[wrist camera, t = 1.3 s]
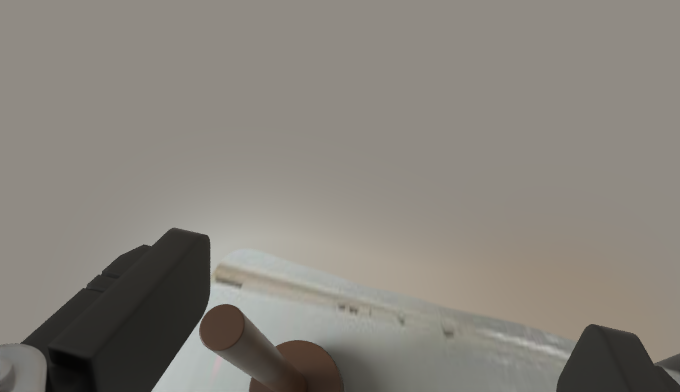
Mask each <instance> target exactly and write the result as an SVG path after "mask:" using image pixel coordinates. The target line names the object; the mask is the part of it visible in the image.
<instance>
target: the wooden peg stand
mask: <svg viewBox="0 0 680 392" xmlns="http://www.w3.org/2000/svg"><path fill="white" fill-rule="evenodd" d="M199 334H200V339H201V341H202V343H203V344H204V345H205V346H206V347H207V348H208V349H210V350H212V351H213V352H215V353H216V354H218V355H219V356H221V357H222V358H224V359H225V360H227V361H228V362H230V363H231V364H233V365H234V366H236V367H237V368H239V369H241V370H242V371H244V372H245V373H247V374H248V375H250V376H251V377H252V378H251V382H250V388H249V392H344V386H343V380H342V377H341V374H340V372H339V370H338V368H337V366H336V364H335V362H334V361H333V359H332V358H331V356H330V355H329V354H328V353H327V352H326V351H325V350H324V349H323V348H321V347H320V346H318V345H316V344H314V343H311V342H308V341H302V340H294V341H288V342H284V343H282V344H279V345H277V346H276V347H275V346H274V345H273V344H272V343H271V342H270V341H269V340H268V339H267V338H266V337H265V336H264V335H263V334H262V333H261V332H260V331H259V329H258V328H257V327H256V326H255V325H254V324H253V323H252V322H251V321H250V320H249V319H248V318H247V317H246V316H245V315H244V314H243V313H242V312H241V311H240V310H239V309H238V308H237V307H235V306H233V305H229V304H223V305H218V306H216V307H214V308H212V309H211V310H210V311H208V312H207V313H206V315H205V316H204V317H203V319H202V321H201V324H200V329H199Z"/></svg>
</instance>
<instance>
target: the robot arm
mask: <svg viewBox="0 0 680 392" xmlns="http://www.w3.org/2000/svg"><path fill="white" fill-rule="evenodd" d="M209 296H210V239H209V237H208V236H207V235H204V234H200V233H195V232H191V231H187V230H182V229H178V228H172V229H170V230H169V231H167V233H165V234H164V235H163V236H162V237H161V238H160V239H159V240H158V241H157V242H156V243H155V244H154V245H153V246H148V245H142V246H140V247H138V248H136V249H133V250H131V251H129V252H127V253H125V254H123V255H121V256H119V257H118V258H117V259H116V260H115V261H113V262H112V263H111V264H110V265H109V266H108V267H107V268H105V269H104V270H103V271H102V274H101V275H98V276H96V277H95V278H94V279H93V280H92V281H91V282H90V283H88V285H87V287H86V289H85V288H83V289H82V290H81V291H79V292H78V293H77V294H76V295H75V296H74V297H73V298H72V299H70V300H69V301H68V302H67V303H66V304H65V305H64V306H62V307H61V308H60V309H59V310H58V311H57V312H56V313H55V314H53V315H52V316H51V317H50V318H49V319H48V320H47V321H45V323H43V324H42V325H41V326H40V327H39V328H38V329H37V330H35V331H34V332H33V333H32V334H31V335H30V336H28V337H27V338H26V339H25V340H24V341H23V342H21V343H20V344H3V345H0V392H151V391H152V389H153V388H154V387H155V385H156V384H157V382H158V381H159V379H160V378H161V376H162V375H163V373H164V372H165V371H166V369H167V368H168V366H169V365H170V363H171V362H172V360H173V359H174V357H175V356H176V354H177V353H178V352H179V350H180V349H181V347H182V346H183V344H184V343H185V341H186V340H187V338H188V337H189V336H190V334H191V333H192V331H193V330H194V328H195V327H196V325H197V324H198V322H199V321H200V319H201V318H202V316H203V314H204V312H205V310H206V307H207V304H208V301H209ZM556 392H680V385H679V384H678V383H677V382H676V381H675V380H674V379H673V378H672V377H671V376H670V375H669V374H668V373H667V372H666V371H665V370H664V369H663V368H662V367H659V366H655V365H654V364H653V362H652V360H651V359H650V357H649V355H648V353H647V352H646V350H645V348H644V346H643V344H642V343H641V341H640V339H639V338H638V337H637V336H636V335H635V334H633V333H630V332H625V331H621V330H616V329H612V328H608V327H603V326H599V325H594V324H591V325H589V326H587V327H586V328H585V330H584V331H583V333H582V335H581V337H580V339H579V340H578V342H577V344H576V346H575V348H574V350H573V352H572V354H571V356H570V358H569V360H568V361H567V363H566V365H565V367H564V369H563V371H562V373H561V375H560V377H559V380H558V384H557V390H556Z"/></svg>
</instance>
